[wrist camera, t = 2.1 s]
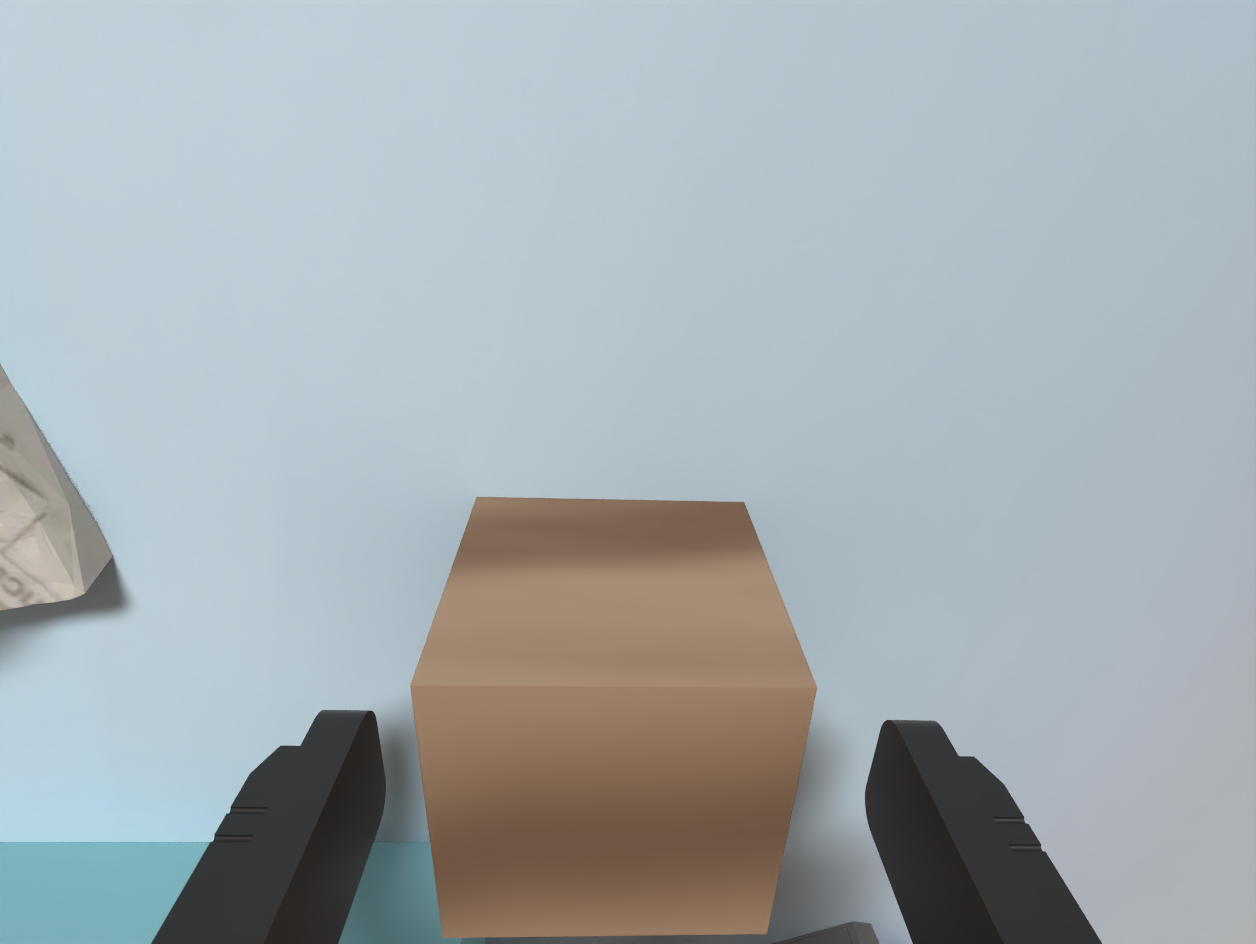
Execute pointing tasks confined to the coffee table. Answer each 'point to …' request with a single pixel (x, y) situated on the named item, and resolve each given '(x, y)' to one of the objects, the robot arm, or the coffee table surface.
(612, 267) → the coffee table surface
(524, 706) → the walnut block
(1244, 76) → the coffee table surface
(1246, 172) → the coffee table surface
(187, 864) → the teal base block
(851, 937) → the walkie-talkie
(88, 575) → the packaged product
